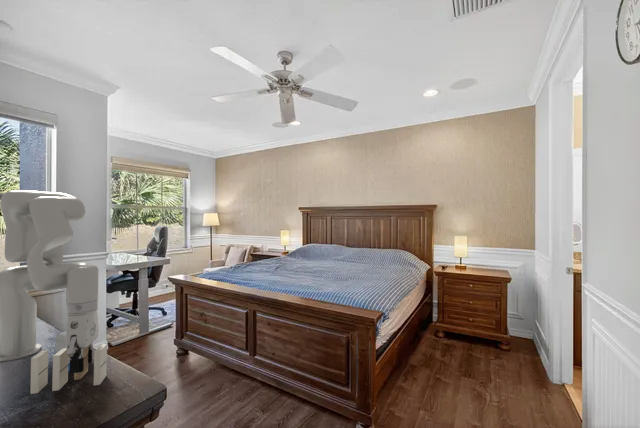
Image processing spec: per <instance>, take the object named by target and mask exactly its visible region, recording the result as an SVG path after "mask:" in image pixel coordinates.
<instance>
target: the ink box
mask: <svg viewBox="0 0 640 428" xmlns="http://www.w3.org/2000/svg"><path fill="white" fill-rule="evenodd" d="M63 348H66V330H65V331H62V332H59V333H57V334H56V335H55V349H54V351H55V352H54V355H55V354H56V353H57V352H59V351H60V350H61V349H63ZM68 372H70V360H69V356H68Z"/></svg>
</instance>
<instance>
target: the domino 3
mask: <svg viewBox="0 0 640 428" xmlns="http://www.w3.org/2000/svg"><path fill="white" fill-rule="evenodd" d="M78 347H79V346H76V348H78ZM88 349H89V346H88V347H86V348H83V356H82V358H83V357H84V370H83V372H79V373H73V380H74V381H76V380H77V381H78V380H81V379H82V378H83V377H84V376H85V375H86V374H87V373H88V372H89V363H88ZM75 351H76V352H78V353H79V350H75Z"/></svg>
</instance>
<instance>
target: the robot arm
mask: <svg viewBox="0 0 640 428" xmlns="http://www.w3.org/2000/svg"><path fill="white" fill-rule="evenodd" d="M0 210H1V213H2V215H3V216H2V217H3V219H4V221H5V237H4V259H5V260H6V261H7V262H9V263H11V264H12V263H13V264H23V263H26V265H18V266H12V267H7V268H5V269H2V270H1V271H0V362H8V361H14V360H19V359H22V358H23V359H24V358H27V357H29V356H31V355H34V354H37V353H39V352H40V351H41V350H42V344H41V343H38V342H37V312H38V311H37V310H38V309H37V308H38V305H37V301H36V299H35V298H34V297H33V296H32V295H30V294H29V292H33V291H39V292H51V291H56V290H61V289H66V291H65V294H66V295H65V315H66V316H67V321H66V330H65V331H66V349H67V350H68V351H67V355H68V356H69V360H70V371H69V374H74V373H79V372H83V370H84V357H83V358H82V356H83V348H86V347H88V346H89V349H88V364H90V363H92V362H93V347H94V344H93V342H94V341H95V340H97V338H98V337H99V317H98V316H99V315H98V310H99V267H98V265H94V264H89V263H86V262H83V261H80V262H70V263H68V262H67V263H64V244H66V243H67V242H69V241H70V240H71V239H72V238H73V237H74V232H73V230H72V226H71V223H70V222H79V221H81V220H83V218H84V217H85V215H86V207H85V205H84V203H83V201H82V200H81V199H80V198H78V197H75V196H73V195H71V194H67V193H65V192H64V193H63V192H53V191H41V190H40V191H39V190H27V189H25V190H24V189H23V190H22V189H21V190H19V189H18V190H16V189H15V190H14V189H13V190H9V191H6V192H4V193H3V194H2V196H1V198H0ZM76 346H79V347H78V348H76ZM75 350H79V353H78V352H76V351H75Z"/></svg>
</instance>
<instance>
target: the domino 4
mask: <svg viewBox="0 0 640 428" xmlns="http://www.w3.org/2000/svg"><path fill="white" fill-rule="evenodd" d="M93 354H94V356H93V358H94V359H93V386H100V385H101V384H102V383H103V381H104V380H105V378H106V377H107V367H108V366H107V363H108V344H107V343H103V344H100V345H99V346H98V347H97V348H96V349H95V350H94V353H93Z"/></svg>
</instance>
